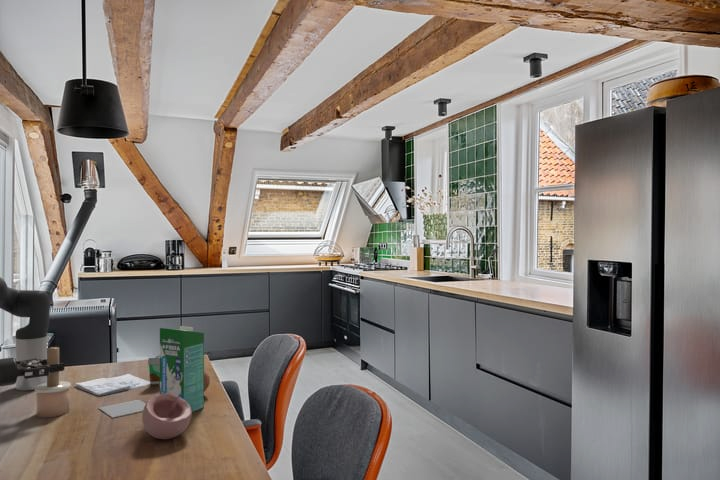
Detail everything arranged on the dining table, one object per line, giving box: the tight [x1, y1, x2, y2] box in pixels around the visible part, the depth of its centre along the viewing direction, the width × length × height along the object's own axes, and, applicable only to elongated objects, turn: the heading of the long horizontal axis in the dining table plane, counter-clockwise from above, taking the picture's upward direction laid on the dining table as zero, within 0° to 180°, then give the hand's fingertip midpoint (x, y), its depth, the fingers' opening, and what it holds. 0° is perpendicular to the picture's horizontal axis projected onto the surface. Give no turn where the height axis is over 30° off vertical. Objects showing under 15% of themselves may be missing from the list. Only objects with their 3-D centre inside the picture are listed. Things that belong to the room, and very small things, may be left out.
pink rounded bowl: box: [141, 393, 193, 440], centre depth 140 cm, size 12×12×12 cm
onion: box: [204, 370, 211, 392], centre depth 176 cm, size 10×9×10 cm
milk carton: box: [159, 325, 205, 413], centre depth 162 cm, size 9×9×25 cm
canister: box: [35, 389, 70, 418], centre depth 159 cm, size 8×8×7 cm
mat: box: [98, 399, 147, 419], centre depth 163 cm, size 12×12×1 cm
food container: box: [147, 355, 160, 387], centre depth 192 cm, size 12×6×10 cm, turn 168°
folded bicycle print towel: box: [74, 373, 150, 397], centre depth 189 cm, size 19×20×2 cm
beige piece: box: [34, 346, 72, 393], centre depth 159 cm, size 9×9×12 cm
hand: (60, 364), depth 160 cm, fingers open, 8 cm apart
